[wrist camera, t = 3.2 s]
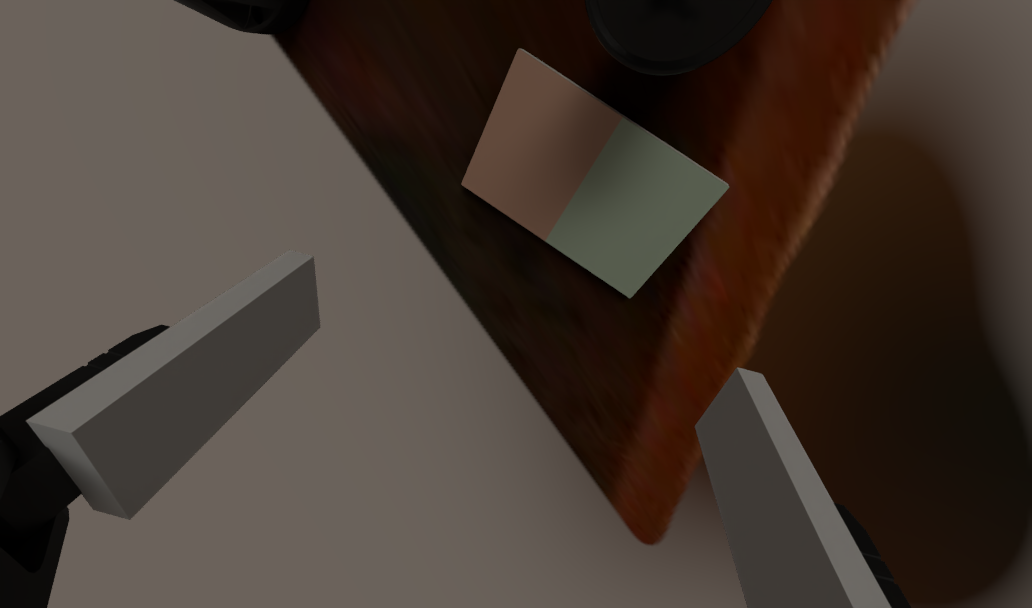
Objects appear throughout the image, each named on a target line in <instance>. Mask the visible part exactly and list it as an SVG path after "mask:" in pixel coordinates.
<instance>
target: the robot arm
mask: <svg viewBox="0 0 1032 608" xmlns="http://www.w3.org/2000/svg"><path fill="white" fill-rule="evenodd" d="M174 1H177V2H179V3H181V4H183V5H185V6H187V7H189V8H191V9H194V10H195V11H197V12H199V13H201V14H203V15H205V16H207V17H209V18H211V19H214V20H215V21H217V22H220V23H222V24H224V25H226V26H228V27H230V28H233V29H236V30H239V31H243V32H249V33H258V34H277V33H280V32H282V31H285V30H286V29H288V28H289V27H291V26H292V25H293V24H294V23H295V22H296V21H297V20H298V18H299V17H300V15H301V14H302V12H303V10H304V8H305V6H306V4H307V1H308V0H174ZM319 328H320V318H319V308H318V297H317V287H316V276H315V265H314V256H311V255H307V254H303V253H299V252H296V251H292V250H289V251H287V252H285V253H284V254H282V255H281V256H279V257H278V258H276V259H275V260H273V261H272V262H270V263H268V264H267V265H266V266H264V267H262V268H261V269H259V270H258V271H256V272H255V273H253V274H252V275H250V276H248V277H247V278H245V279H244V280H242V281H241V282H239V283H238V284H236V285H235V286H233V287H231V288H230V289H228V290H227V291H225V292H224V293H222V294H221V295H219V296H218V297H216V298H215V299H213V300H211V301H210V302H209V303H207V304H206V305H204V306H202V307H201V308H199V309H198V310H196V311H194V312H193V313H191V314H190V315H188V316H187V317H185V318H184V319H182V320H180V321H179V322H177V323H176V324H174V325H173V326H171V327H169V326H165V325H159V326H157V327H154V328H151V329H148V330H145V331H143V332H140V333H137V334H135V335H132V336H130V337H129V338H127V339H126V340H124V341H122V342H121V343H119V344H117V345H116V346H114V347H113V348H111V349H109V350H108V353H106V354H105V353H103V354H101V355H99V356H98V357H97V358H95V359H93V360H91V361H90V362H88V365H87V366H82V367H80V368H78V369H77V370H75V371H73V372H72V373H70V374H68V375H67V376H65V377H64V378H62V379H60V380H59V381H57V382H56V383H54V384H52V385H51V386H49V387H47V388H46V389H44V390H42V391H41V392H39V393H37V394H36V395H34V396H33V397H31V398H29V399H28V400H26V401H24V402H23V403H21V404H20V405H18V406H16V407H15V408H13V409H11V410H10V411H8V412H6V413H5V414H3V415H1V416H0V608H47V605H48V601H49V598H50V593H51V589H52V585H53V582H54V578H55V573H56V569H57V566H58V562H59V557H60V554H61V549H62V546H63V542H64V538H65V534H66V530H67V526H68V522H69V509H68V508H67V506H68V505H69V504H70V503H71V502H72V501H74V500H75V499H76V498H77V497H78V496H79V495H80V494H82V495H83V497H84V498H85V499H86V501H87V502H88V503H89V505H90V506H91V507H92V508H93V510H96V511H100V512H104V513H107V514H111V515H115V516H118V517H122V518H125V519H129V520H130V519H131V518H132V517H133V516H134V515H135V514H136V513H137V512H138V511H139V510H140V509H141V508H142V507H143V506H144V505H145V504H146V503H147V502H148V501H149V500H150V499H151V498H152V497H153V496H154V495H155V494H156V493H157V492H158V491H159V490H160V489H161V488H162V487H163V486H164V485H165V484H166V483H167V482H168V481H169V480H170V479H171V478H172V476H174V475H175V474H176V473H177V472H178V471H179V470H180V469H181V468H182V467H183V466H184V465H185V464H186V463H187V462H188V461H189V460H190V458H192V457H193V455H194V454H195V453H196V452H197V451H198V450H199V449H200V448H201V447H202V446H203V445H204V444H205V443H206V442H207V441H208V440H209V439H210V438H211V437H212V436H213V435H214V434H215V433H216V432H217V431H218V430H219V429H220V428H221V427H222V426H223V425H224V424H225V423H226V422H227V421H228V420H229V419H230V418H231V417H232V416H233V415H234V414H235V413H236V412H237V411H238V410H239V409H240V408H241V407H242V406H243V405H244V404H245V403H246V402H247V401H248V400H249V399H250V398H251V397H252V396H253V395H254V394H255V393H256V392H257V391H258V390H259V389H260V388H261V387H262V386H263V385H264V384H265V383H266V382H267V381H268V380H269V379H270V377H272V375H273V374H274V373H275V372H276V371H277V370H278V369H279V368H280V367H281V366H282V365H283V364H284V363H285V362H286V361H287V360H288V359H289V358H290V357H291V356H292V355H293V354H294V353H295V352H296V351H297V350H298V349H299V348H300V347H301V346H302V345H303V344H304V343H305V342H306V341H307V340H308V339H309V338H310V337H311V336H312V335H313V334H314V333H315V332H316V331H317V330H318V329H319ZM695 429H696V432H697V436H698V439H699V443H700V446H701V450H702V453H703V456H704V460H705V463H706V467H707V470H708V474H709V477H710V480H711V484H712V487H713V491H714V494H715V498H716V501H717V504H718V508H719V511H720V515H721V518H722V521H723V525H724V528H725V532H726V535H727V539H728V542H729V546H730V549H731V553H732V556H733V559H734V563H735V566H736V570H737V573H738V577H739V580H740V583H741V587H742V590H743V593H744V597H745V601H746V604H747V607H748V608H911V606H910V605H909V603H908V601H907V600H906V598H905V596H904V594H903V593H902V591H901V589H900V588H899V586H898V585H897V584H895V583H894V581H893V580H894V577H893V576H892V574H891V572H890V571H889V569H888V567H887V566H886V564H885V562H883V561H881V559H880V557H881V555H880V554H879V552H878V550H877V549H876V547H875V545H874V544H873V542H872V540H871V538H870V537H869V535H868V533H867V532H866V530H865V529H864V528H863V527H862V525H861V524H860V523H859V522H858V521H857V520H856V519H855V518H854V516H853V515H852V514H851V513H850V512H849V511H848V510H847V509H846V507H845V506H844V505H840V504H836V503H833V501H832V499H831V498H830V496H829V494H828V492H827V490H826V489H825V487H824V485H823V483H822V481H821V480H820V478H819V476H818V474H817V472H816V470H815V469H814V467H813V465H812V463H811V461H810V460H809V458H808V456H807V454H806V452H805V451H804V449H803V447H802V445H801V443H800V442H799V440H798V438H797V436H796V434H795V432H794V431H793V429H792V427H791V425H790V423H789V422H788V420H787V418H786V416H785V414H784V413H783V411H782V409H781V407H780V405H779V403H778V402H777V400H776V398H775V396H774V394H773V393H772V391H771V389H770V387H769V385H768V384H767V382H766V380H765V378H764V376H763V375H762V374H760V373H756V372H753V371H749V370H745V369H741V368H736V370H735V371H734V372H733V374H732V375H731V377H730V378H729V379H728V381H727V382H726V384H725V385H724V386H723V388H722V389H721V391H720V392H719V393H718V395H717V396H716V397H715V399H714V400H713V402H712V403H711V404H710V406H709V407H708V409H707V410H706V411H705V413H704V414H703V416H702V417H701V418H700V420H699V421H698V423H697V424H696V425H695Z"/></svg>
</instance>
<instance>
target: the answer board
mask: <svg viewBox="0 0 1032 608" xmlns="http://www.w3.org/2000/svg"><path fill="white" fill-rule="evenodd" d="M461 185H463V186H464V187H466V188H467V189H469V190H470V191H472V192H473V193H474V194H476V195H477V196H479V197H480V198H482V199H483V200H485V201H486V202H488V203H489V204H491V205H492V206H494V207H495V208H497V209H498V210H500V211H501V212H503V213H504V214H506V215H507V216H509V217H510V218H511V219H513V220H514V221H516V222H517V223H519V224H520V225H522V226H523V227H525V228H526V229H528V230H529V231H531V232H532V233H534V234H535V235H537V236H538V237H540V238H541V239H543V240H544V241H546V242H547V243H549V244H550V245H551V246H553V247H554V248H556V249H557V250H559V251H560V252H562V253H563V254H565V255H566V256H568V257H569V258H571V259H572V260H574V261H575V262H577V263H578V264H580V265H581V266H583V267H584V268H586V269H587V270H588V271H590V272H591V273H593V274H594V275H596V276H597V277H599V278H600V279H602V280H603V281H605V282H606V283H608V284H609V285H611V286H612V287H614V288H615V289H617V290H618V291H620V292H621V293H623V294H624V295H626V296H627V297H628V298H631V297H632V296H633V295H634V294H635V293H636V292H637V290H638V289H639V288H640V287H641V286H642V285H643V284H644V283H645V281H646V280H647V279H648V278H649V277H650V276H651V275H652V274H653V272H654V271H655V270H656V269H657V268H658V267H659V266H660V265H661V263H662V262H663V261H664V260H665V259H666V258H667V257H668V256H669V254H670V253H671V252H672V251H673V250H674V249H675V248H676V247H677V245H678V244H679V243H680V242H681V241H682V240H683V239H684V238H685V237H686V235H687V234H688V233H689V232H690V231H691V230H692V229H693V228H694V226H695V225H696V224H697V223H698V222H699V221H700V220H701V219H702V217H703V216H704V215H705V214H706V213H707V212H708V211H709V210H710V208H711V207H712V206H713V205H714V204H715V203H716V202H717V201H718V199H719V198H720V197H721V196H722V195H723V194H724V193H725V192H726V190H727V189H728V188H729V185H728V184H727V183H726V182H724V181H723V180H721V179H720V178H718V177H717V176H715V175H714V174H712V173H711V172H709V171H708V170H706V169H705V168H703V167H702V166H700V165H698V164H697V163H695V162H694V161H692V160H691V159H689V158H688V157H686V156H685V155H683V154H682V153H680V152H679V151H677V150H676V149H674V148H673V147H671V146H670V145H668V144H667V143H665V142H664V141H662V140H660V139H659V138H657V137H656V136H654V135H653V134H651V133H650V132H648V131H647V130H645V129H644V128H642V127H641V126H639V125H638V124H636V123H635V122H633V121H632V120H630V119H629V118H627V117H626V116H624V115H622V114H621V113H619V112H618V111H616V110H615V109H613V108H612V107H610V106H609V105H607V104H606V103H604V102H603V101H601V100H600V99H598V98H597V97H595V96H594V95H592V94H591V93H589V92H588V91H586V90H584V89H583V88H581V87H580V86H578V85H577V84H575V83H574V82H572V81H571V80H569V79H568V78H566V77H565V76H563V75H562V74H560V73H559V72H557V71H556V70H554V69H553V68H551V67H550V66H548V65H547V64H545V63H543V62H542V61H540V60H539V59H537V58H536V57H534V56H533V55H531V54H530V53H528V52H527V51H525V50H524V49H519V48H518V50H517V53H516V55H515V58H514V60H513V62H512V65H511V67H510V69H509V72H508V74H507V77H506V79H505V81H504V84H503V86H502V88H501V91H500V93H499V96H498V98H497V100H496V103H495V105H494V107H493V110H492V112H491V115H490V117H489V119H488V122H487V124H486V126H485V129H484V131H483V134H482V136H481V138H480V141H479V143H478V146H477V148H476V150H475V153H474V155H473V157H472V160H471V162H470V165H469V167H468V169H467V172H466V174H465V176H464V179H463V181H462V184H461Z"/></svg>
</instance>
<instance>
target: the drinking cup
mask: <svg viewBox="0 0 1032 608" xmlns="http://www.w3.org/2000/svg"><path fill="white" fill-rule="evenodd" d="M772 1H773V0H585V5H586V10H587V14H588V17H589V20H590V23H591V26H592V28H593V30H594V32H595V34H596V36H597V38H598V39H599V41H600V43H601V44H602V45H603V47H604V48H605V49H606V50H607V51H608V52H609V54H610V55H611V56H612V57H614V58H615V59H616V60H617V61H619V62H620V63H622V64H623V65H625V66H626V67H628V68H631V69H633V70H635V71H638V72H641V73H646V74H650V75H673V74H679V73H684V72H688V71H691V70H694V69H697V68H699V67H701V66H704V65H706V64H708V63H709V62H711V61H713V60H715V59H717V58H718V57H720V56H721V55H723V54H724V53H726V52H727V51H728V50H730V49H731V48H732V47H733V46H735V45H736V44H737V43H738V42H739V41H740V40H741V39H742V38H743V37H744V36H745V35H746V34H747V33H748V32H749V31H750V30H751V29H752V28H753V27H754V26H755V24H756V23H757V22H758V21H759V20H760V18H761V17H762V16H763V14H764V13H765V11H766V10H767V9H768V7H769V5H770V4H771V2H772Z"/></svg>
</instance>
